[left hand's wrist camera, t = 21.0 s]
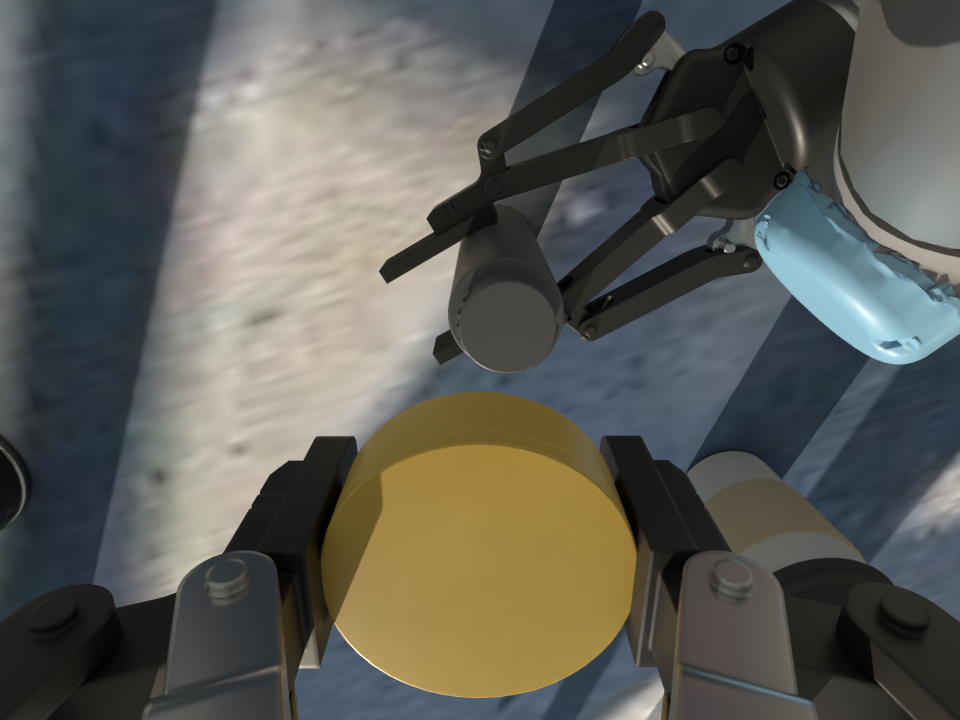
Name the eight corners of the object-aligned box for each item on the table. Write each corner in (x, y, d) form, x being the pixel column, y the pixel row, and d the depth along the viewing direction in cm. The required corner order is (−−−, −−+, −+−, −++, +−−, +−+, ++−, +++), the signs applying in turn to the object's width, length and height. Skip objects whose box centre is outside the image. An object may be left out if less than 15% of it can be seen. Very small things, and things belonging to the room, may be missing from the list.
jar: (459, 273, 38) (441, 380, 22) (464, 202, 36) (449, 262, 20) (528, 279, 38) (561, 390, 22) (536, 208, 36) (578, 272, 21)
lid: (607, 373, 10) (634, 423, 8) (621, 604, 12) (644, 684, 10) (315, 408, 10) (283, 462, 9) (372, 630, 12) (355, 711, 10)
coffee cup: (814, 489, 43) (971, 663, 29) (716, 563, 46) (818, 755, 32) (735, 413, 41) (864, 561, 27) (636, 495, 44) (708, 669, 30)
